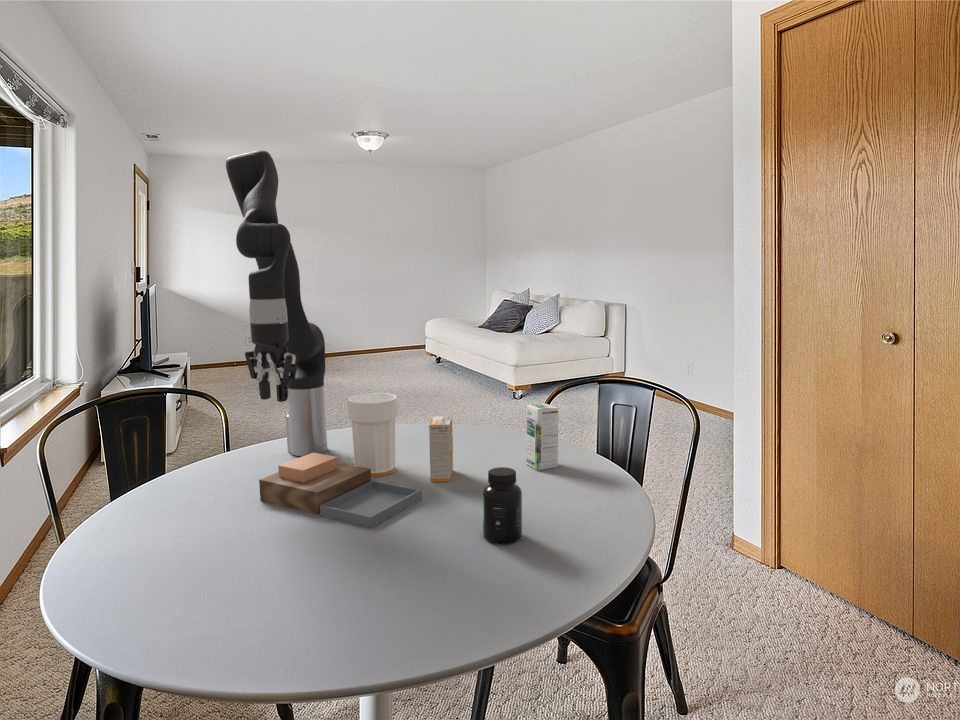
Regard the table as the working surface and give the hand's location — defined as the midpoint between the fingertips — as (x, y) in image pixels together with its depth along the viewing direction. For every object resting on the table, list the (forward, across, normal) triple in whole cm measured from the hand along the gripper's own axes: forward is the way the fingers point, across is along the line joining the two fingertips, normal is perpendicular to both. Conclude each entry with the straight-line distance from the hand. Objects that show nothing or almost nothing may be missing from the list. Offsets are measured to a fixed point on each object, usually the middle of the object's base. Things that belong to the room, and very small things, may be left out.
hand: (274, 399), depth 136 cm
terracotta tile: (+15, +9, 0) cm, 17 cm away
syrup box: (+20, +45, +39) cm, 63 cm away
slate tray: (+19, +26, 0) cm, 32 cm away
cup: (+20, +12, +18) cm, 29 cm away
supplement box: (+20, +28, +22) cm, 41 cm away
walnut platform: (+19, +11, 0) cm, 22 cm away
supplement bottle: (+20, +55, 0) cm, 58 cm away
